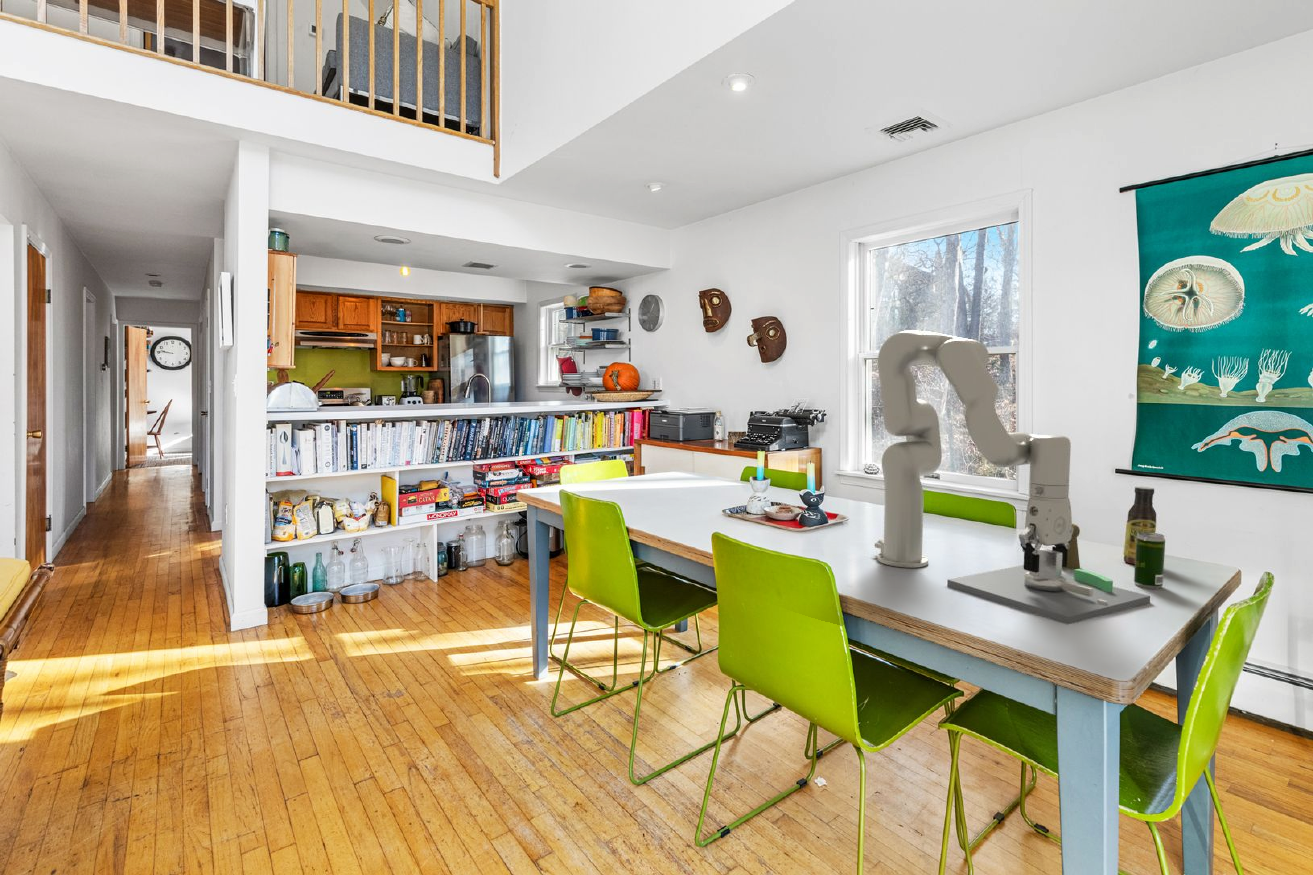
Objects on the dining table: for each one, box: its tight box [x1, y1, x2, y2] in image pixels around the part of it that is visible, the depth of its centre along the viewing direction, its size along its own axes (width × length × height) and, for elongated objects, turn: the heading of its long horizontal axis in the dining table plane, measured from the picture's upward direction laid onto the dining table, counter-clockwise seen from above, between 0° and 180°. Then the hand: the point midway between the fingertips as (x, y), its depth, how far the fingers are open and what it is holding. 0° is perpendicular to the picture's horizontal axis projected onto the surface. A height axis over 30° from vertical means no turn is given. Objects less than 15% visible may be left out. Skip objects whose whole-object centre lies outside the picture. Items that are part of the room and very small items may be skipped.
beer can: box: [1133, 532, 1166, 590], centre depth 153 cm, size 5×5×12 cm
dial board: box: [946, 564, 1151, 625], centre depth 147 cm, size 28×28×4 cm
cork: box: [1062, 523, 1081, 570], centre depth 170 cm, size 6×6×11 cm
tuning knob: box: [1024, 547, 1093, 597], centre depth 144 cm, size 14×8×8 cm, turn 27°
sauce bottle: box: [1123, 486, 1157, 565], centre depth 172 cm, size 7×6×20 cm
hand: (1045, 568), depth 147 cm, fingers open, 9 cm apart
